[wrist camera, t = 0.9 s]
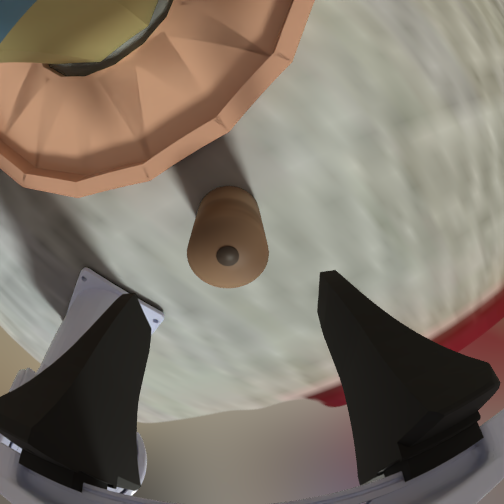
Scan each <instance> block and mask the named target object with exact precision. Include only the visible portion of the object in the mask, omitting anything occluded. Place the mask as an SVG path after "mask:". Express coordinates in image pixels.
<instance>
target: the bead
mask: <svg viewBox="0 0 504 504" xmlns="http://www.w3.org/2000/svg"><path fill="white" fill-rule="evenodd" d="M268 256H269V250H268V245H267V241H266V236H265V232H264V228H263V224H262V220H261V216H260V212H259V208H258V205H257V202H256V200H255V199H254V198H253V196H252V195H251V194H250V193H248V192H247V191H245V190H244V189H241V188H239V187H235V186H223V187H219V188H216V189H214V190H212V191H210V192H209V193H208V194H207V195H206V196H205V197H204V198H203V199H202V201H201V203H200V205H199V209H198V212H197V215H196V219H195V222H194V226H193V229H192V233H191V237H190V240H189V244H188V248H187V258H188V262H189V265H190V267H191V269H192V270H193V272H194V273H195V274H196V275H197V276H198V277H199V278H200V279H201V280H203V281H204V282H206V283H208V284H210V285H213V286H216V287H220V288H236V287H240V286H244V285H246V284H248V283H250V282H252V281H253V280H255V279H256V278H257V277H258V276H259V275H260V274H261V273H262V272H263V270H264V269H265V267H266V265H267V262H268Z"/></svg>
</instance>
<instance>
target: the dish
mask: <svg viewBox="0 0 504 504" xmlns="http://www.w3.org/2000/svg"><path fill="white" fill-rule="evenodd" d="M314 1H315V0H173V3H172V5H171V7H170V10H169V12H168V15H167V17H166V18H165V19H164V20H163V21H162V22H161V24H160V25H159V26H158V27H157V28H156V29H155V30H154V32H153V33H152V34H151V35H150V36H149V38H148V39H147V40H146V41H145V43H144V44H142V45H141V46H140V47H138V48H137V49H135V50H134V51H132V52H131V53H130V54H128V55H127V56H126V57H124V58H123V59H122V60H120V61H119V62H118V63H116V64H115V65H113V66H110V67H108V68H105V69H102V70H100V71H97V72H95V73H92V74H90V75H88V76H69V77H66V76H64V75H63V74H61V73H59V72H57V71H56V70H54V69H52V68H50V67H49V65H48V63H26V62H7V63H0V169H2V170H3V171H4V172H5V173H6V174H7V175H9V176H10V177H11V178H12V179H14V180H15V181H16V182H17V183H18V184H20V185H21V186H22V187H24V188H29V189H35V190H40V191H45V192H50V193H55V194H60V195H65V196H70V197H75V198H80V197H84V196H87V195H91V194H95V193H99V192H103V191H107V190H111V189H115V188H119V187H124V186H128V185H133V184H137V183H142V182H147V181H150V180H152V179H153V178H155V177H156V176H158V175H159V174H161V173H162V172H164V171H165V170H167V169H168V168H170V167H171V166H173V165H174V164H176V163H177V162H179V161H181V160H182V159H184V158H185V157H187V156H189V155H190V154H192V153H193V152H195V151H197V150H198V149H200V148H202V147H203V146H205V145H207V144H208V143H210V142H212V141H214V140H215V139H217V138H219V137H221V136H223V135H224V134H226V133H228V132H229V131H230V130H231V129H232V128H233V127H234V125H235V124H236V123H237V122H238V121H239V119H240V118H241V117H242V116H243V115H244V114H245V112H246V111H247V110H248V109H249V108H250V107H251V105H252V104H253V103H254V102H255V101H256V100H257V99H258V98H259V96H260V95H261V94H262V93H263V92H264V91H265V90H266V89H267V88H268V87H269V86H270V84H271V83H272V82H273V81H274V80H275V79H276V78H277V77H278V76H279V75H280V74H281V73H282V72H283V71H284V70H285V69H286V68H287V67H288V66H289V65H290V64H291V63H292V61H293V58H294V56H295V53H296V50H297V47H298V44H299V42H300V39H301V36H302V33H303V30H304V28H305V25H306V22H307V19H308V17H309V14H310V11H311V9H312V6H313V3H314Z"/></svg>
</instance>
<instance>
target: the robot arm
mask: <svg viewBox="0 0 504 504" xmlns="http://www.w3.org/2000/svg"><path fill="white" fill-rule="evenodd" d="M84 277H86V278H84ZM317 312H318V316H319V320H320V324H321V328H322V332H323V335H324V338H325V340H326V343H327V346H328V348H329V351H330V353H331V356H332V359H333V361H334V364H335V366H336V369H337V372H338V374H339V377H340V380H341V383H342V386H343V390H344V394H345V398H346V402H347V407H348V411H349V416H350V421H351V426H352V431H353V438H354V444H355V451H356V460H357V469H358V479H359V483H360V486H358V487H355V488H351V489H348V490H344V491H340V492H336V493H332V494H328V495H323V496H319V497H314V498H309V499H303V500H296V501H290V502H283V503H273V504H360V503H363V502H366V503H365V504H477V503H478V502H479V501H480V500H481V499H482V498H483V497H484V496H485V495H487V493H489V492H490V491H491V490H492V489H493V488H494V487H495V486H496V485H497V484H498V483H499V482H500V481H502V480H503V479H504V409H503V410H501V411H500V412H499V413H497V414H496V415H495V416H493V417H492V418H491V419H489V420H488V421H487V422H485V423H484V424H483V425H482V426H480V427H479V425H478V423H477V421H478V420H480V414H479V412H478V410H479V409H480V408H481V407H482V406H483V405H484V404H485V403H486V402H487V401H488V400H489V399H490V398H491V397H492V396H493V395H494V394H495V392H496V391H497V390H498V389H499V386H500V381H499V379H498V377H497V376H496V374H495V372H494V371H493V369H492V367H491V366H490V364H489V363H487V362H484V361H481V360H478V359H475V358H471V357H468V356H465V355H462V354H460V353H458V352H455V351H453V350H450V349H448V348H446V347H443V346H441V345H439V344H437V343H435V342H433V341H431V340H429V339H427V338H425V337H424V336H422V335H420V334H418V333H416V332H415V331H413V330H411V329H410V328H408V327H407V326H405V325H404V324H402V323H400V322H399V321H397V320H396V319H394V318H393V317H392V316H390V315H389V314H388V313H386V312H385V311H384V310H382V309H381V308H380V307H378V306H377V305H376V304H374V303H373V302H372V301H371V300H369V299H368V298H367V297H366V296H365V295H363V294H362V293H361V292H360V291H359V290H358V289H356V288H355V287H354V286H353V285H352V284H351V283H350V282H348V281H347V280H346V279H345V278H344V277H343V276H342V275H340V274H339V273H338V272H337V271H336V270H333V271H326V272H320V281H319V297H318V310H317ZM164 317H165V315H164V313H163V312H161V311H159V310H158V309H156V308H154V307H152V306H150V305H149V304H147V303H145V302H143V301H141V300H140V299H138V298H137V296H136V294H135V293H128V292H126V291H124V290H123V289H121V288H119V287H118V286H116V285H114V284H113V283H111V282H109V281H108V280H106V279H105V278H103V277H102V276H100V275H98V274H97V273H95V272H94V271H92V270H91V269H89V268H87V267H84V268H83V269H82V270H81V272H80V275H79V278H78V280H77V283H76V286H75V289H74V292H73V295H72V298H71V301H70V304H69V307H68V310H67V314H66V316H65V318H64V320H63V322H62V323H61V325H60V327H59V329H58V331H57V333H56V335H55V337H54V339H53V341H52V343H51V345H50V347H49V349H48V351H47V353H46V355H45V357H44V359H43V361H42V363H41V366H40V368H39V369H38V370H37V372H36V373H35V372H34V371H33V370H32V369H30V368H27V369H26V370H25V369H23V370H19V371H18V373H17V375H16V377H15V379H14V382H13V384H12V386H11V388H10V391H9V393H7V394H5V395H3V396H1V397H0V494H1V495H2V496H4V497H5V498H6V499H7V500H8V501H10V502H11V503H12V504H179V503H171V502H163V501H156V500H150V499H145V498H139V497H134V496H132V495H133V494H134V493H135V492H136V491H137V490H138V489H139V488H140V487H141V484H142V481H143V479H144V477H145V473H146V467H147V455H146V450H145V447H144V443H143V440H142V438H141V436H140V434H139V433H138V432H137V411H138V401H139V395H140V390H141V385H142V381H143V376H144V372H145V368H146V363H147V359H148V354H149V349H150V340H151V335H152V334H153V332H154V331H155V330H156V329H157V328H158V326H159V325H160V324H161V323H162V321H163V320H164ZM155 319H157V320H155ZM376 480H377V481H376ZM373 481H374V482H373ZM370 482H371V483H370ZM367 483H368V484H367ZM364 484H365V485H364Z"/></svg>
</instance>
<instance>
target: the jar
mask: <svg viewBox="0 0 504 504" xmlns="http://www.w3.org/2000/svg"><path fill="white" fill-rule="evenodd" d="M157 2H158V0H0V63H7V62H26V63H48V64H66V63H83V62H101V61H102V60H103V59H105V58H106V57H107V56H108V55H109V54H111V53H112V52H113V51H114V50H116V49H117V48H118V47H120V46H121V45H122V44H123V43H125V42H126V41H127V40H129V39H130V38H132V37H133V36H134V35H136V34H137V33H139V32H140V31H142V30H143V29H145V28H146V27H148V26H149V23H150V20H151V17H152V15H153V12H154V10H155V7H156V5H157Z"/></svg>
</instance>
